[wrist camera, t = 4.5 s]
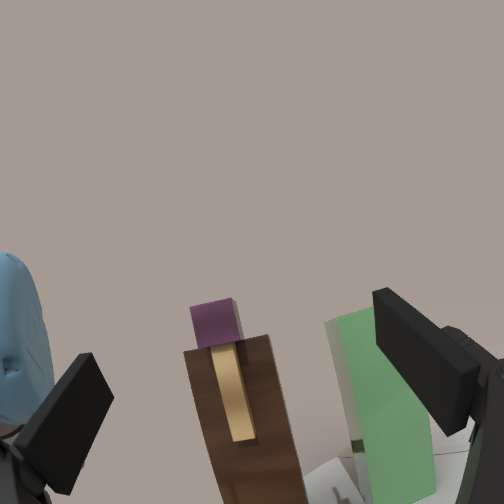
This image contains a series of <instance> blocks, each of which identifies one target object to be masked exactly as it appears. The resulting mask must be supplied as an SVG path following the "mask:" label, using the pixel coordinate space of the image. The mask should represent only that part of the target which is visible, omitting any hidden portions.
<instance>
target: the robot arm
mask: <svg viewBox="0 0 504 504" xmlns="http://www.w3.org/2000/svg"><path fill="white" fill-rule="evenodd" d="M372 294H373V305H374V318H375V333H376V345H377V346H378V347H379V349H380V350H381V351H382V352H383V354H384V355H385V356H386V357H387V359H388V360H389V361H390V362H391V364H392V365H393V366H394V368H395V369H396V370H397V371H398V373H399V374H400V375H401V376H402V378H403V379H404V380H405V382H406V383H407V384H408V386H409V387H410V388H411V389H412V391H413V392H414V393H415V395H416V396H417V397H418V399H419V400H420V401H421V403H422V404H423V405H424V407H425V408H426V409H427V411H428V412H429V413H430V415H431V416H432V417H433V419H434V420H435V421H436V423H437V424H438V425H439V427H440V428H441V429H442V431H443V432H444V433H445V435H446V436H447V437H449V436H451V435H453V434H455V433H457V432H458V431H460V430H462V429H464V428H466V425H467V422H468V418H469V415H470V416H471V418H472V419H473V420H474V421H475V424H474V428H473V431H472V434H471V436H470V439H469V442H471V444H470V449H469V454H468V458H467V463H466V467H465V471H464V475H463V479H462V483H461V486H460V490H459V493H458V497H457V500H456V503H455V504H504V359H499V360H498V359H497V358H495V357H494V356H493V355H491V354H490V353H489V352H488V351H487V350H485V349H484V348H483V347H482V346H480V345H479V344H478V343H475V341H474V340H473V339H471V338H470V337H469V338H468V336H467V335H466V334H465V333H464V332H462V331H461V330H460V329H457V328H454V327H450V326H446V327H444V328H441V329H440V328H438V327H437V326H436V325H435V324H434V323H432V322H431V321H430V320H429V319H428V318H426V317H425V316H424V315H422V314H421V313H420V312H419V311H417V310H416V309H415V308H414V307H412V306H411V305H410V304H409V303H407V302H406V301H405V300H404V299H402V298H401V297H400V296H398V295H397V294H396V293H395V292H393V291H392V290H391V289H389V288H388V287H386V288H383V289H380V290H376V291H373V292H372ZM54 384H55V382H54V372H53V365H52V359H51V353H50V346H49V341H48V336H47V331H46V328H45V324H44V322H43V318H42V308H41V304H40V300H39V297H38V293H37V290H36V287H35V284H34V281H33V279H32V276H31V274H30V272H29V270H28V269H27V267H26V266H25V264H24V263H23V262H22V261H21V260H20V259H19V258H17V257H16V256H14V255H12V254H10V253H6V252H0V504H52V502H51V500H50V496H49V494H48V493H47V491H46V490H45V489H44V488H45V486H46V484H48V486H49V487H50V488H51V489H52V490H53V491H54V492H55V493H58V494H64V495H70V494H71V492H72V489H73V487H74V484H75V482H76V480H77V477H78V475H79V473H80V470H81V469H82V468H83V467H84V461H85V459H86V457H87V454H88V452H89V450H90V448H91V446H92V444H93V441H94V439H95V437H96V435H97V433H98V431H99V429H100V426H101V424H102V422H103V420H104V418H105V416H106V413H107V411H108V409H109V407H110V405H111V403H112V401H113V399H114V396H113V394H112V392H111V390H110V388H109V387H108V384H107V382H106V381H105V379H104V377H103V375H102V373H101V371H100V369H99V367H98V365H97V363H96V361H95V359H94V356H93V354H92V353H83V354H79V355H78V356H77V358H76V359H75V360H74V362H73V363H72V364H71V365H70V367H69V368H68V369H67V371H66V372H65V373H64V374H63V376H62V377H61V378H60V380H59V381H58V382H57V384H56V385H54Z"/></svg>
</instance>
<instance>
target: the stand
mask: <svg viewBox="0 0 504 504" xmlns="http://www.w3.org/2000/svg"><path fill="white" fill-rule="evenodd" d="M235 346H236V350H237V354H238V359H239V363H240V367H241V372H242V376H243V380H244V384H245V388H246V392H247V396H248V400H249V404H250V408H251V412H252V416H253V420H254V424H255V428H256V436H255V438H253V439H247V440H241V441H235V442H234V441H233V438H232V434H231V430H230V427H229V423H228V419H227V415H226V411H225V408H224V404H223V400H222V396H221V392H220V388H219V383H218V379H217V375H216V371H215V367H214V362H213V358H212V354H211V349H210V347H206V348H201V349H195V350H190V351H184V352H183V353H184V357H185V362H186V367H187V371H188V375H189V380H190V384H191V389H192V393H193V397H194V401H195V405H196V409H197V413H198V417H199V420H200V424H201V428H202V432H203V436H204V440H205V443H206V447H207V450H208V453H209V457H210V461H211V464H212V467H213V471H214V474H215V477H216V480H217V484H218V487H219V490H220V493H221V496H222V499H223V502H224V504H309V501H308V497H307V493H306V489H305V485H304V480H303V476H302V472H301V468H300V464H299V459H298V455H297V451H296V447H295V443H294V439H293V434H292V430H291V426H290V422H289V418H288V413H287V409H286V405H285V400H284V396H283V392H282V388H281V384H280V379H279V375H278V371H277V367H276V362H275V358H274V354H273V350H272V345H271V341H270V337H269V335H268V334H266V335H262V336H258V337H253V338H249V339H244V340H240V341H236V342H235Z"/></svg>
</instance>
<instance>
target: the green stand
mask: <svg viewBox="0 0 504 504" xmlns="http://www.w3.org/2000/svg"><path fill="white" fill-rule="evenodd" d="M402 299H404V297H402ZM324 324H325V328H326V332H327V336H328V341H329V344H330V349H331V353H332V357H333V361H334V366H335V370H336V374H337V379H338V383H339V388H340V392H341V397H342V401H343V406H344V411H345V416H346V420H347V425H348V430H349V435H350V440H351V445H352V451H353V456H354V461H355V467H356V472H357V478H358V484H359V490H360V493H361V495H362V496H363V498H364V500H365V501H366V503H367V504H411V503H413V502H416V501H418V500H420V499H422V498H424V497H427V496H429V495H431V494H433V493H435V492H436V491H435V472H434V459H433V448H432V439H431V430H430V423H429V415H428V411H427V409H426V408H425V407H424V405H423V404H422V403H421V401H420V400H419V399H418V397H417V396H416V395H415V393H414V392H413V391H412V389H411V388H410V387H409V386H408V384H407V383H406V382H405V380H404V379H403V378H402V376H401V375H400V374H399V373H398V371H397V370H396V369H395V368H394V366H393V365H392V364H391V362H390V361H389V360H388V359H387V357H386V356H385V355H384V354H383V352H382V351H381V350H380V349H379V347H378V346H377V345H376V333H375V318H374V306H373V307H370V308H367V309H364V310H361V311H357V312H353V313H350V314H347V315H343V316H340V317H336V318H334V319H331V320H329V321H326V322H324Z"/></svg>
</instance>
